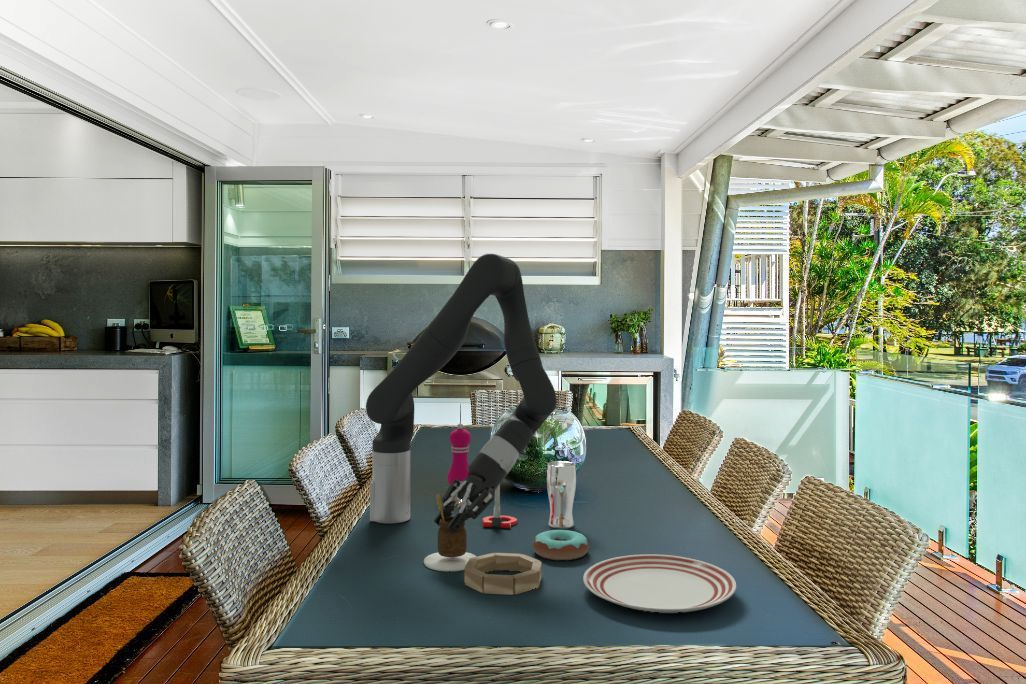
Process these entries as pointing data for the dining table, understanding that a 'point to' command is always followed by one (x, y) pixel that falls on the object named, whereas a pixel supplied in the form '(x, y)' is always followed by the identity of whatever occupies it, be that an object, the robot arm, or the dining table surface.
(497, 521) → the tow hook
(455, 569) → the coaster
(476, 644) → the dining table surface
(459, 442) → the pepper mill
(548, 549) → the donut
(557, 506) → the beer glass
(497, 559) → the oak ring
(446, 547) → the utensil holder
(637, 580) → the dinner plate
